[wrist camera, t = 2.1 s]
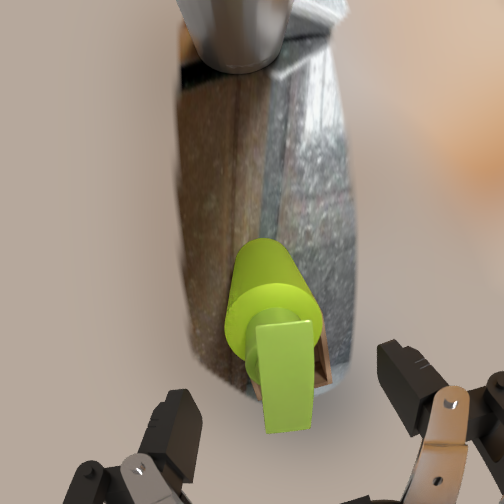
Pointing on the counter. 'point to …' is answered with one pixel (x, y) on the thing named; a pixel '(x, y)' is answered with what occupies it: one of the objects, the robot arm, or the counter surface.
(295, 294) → the soap dispenser
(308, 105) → the counter surface
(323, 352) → the walnut caddy
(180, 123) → the counter surface
